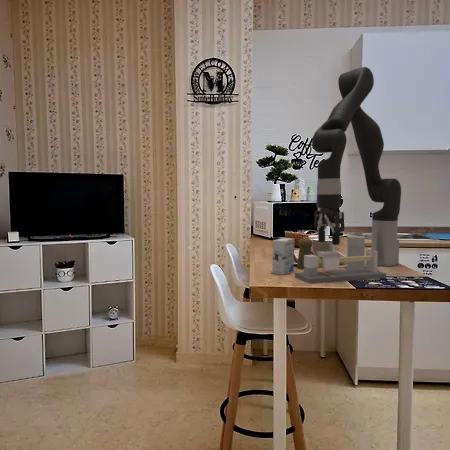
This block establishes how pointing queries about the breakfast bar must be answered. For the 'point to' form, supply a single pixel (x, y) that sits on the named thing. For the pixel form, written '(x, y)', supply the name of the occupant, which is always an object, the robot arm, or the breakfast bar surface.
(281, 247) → the ink box
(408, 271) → the breakfast bar surface
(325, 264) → the sleeve
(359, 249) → the skincare box
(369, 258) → the cable board
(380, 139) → the robot arm
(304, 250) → the olive pawn shape
